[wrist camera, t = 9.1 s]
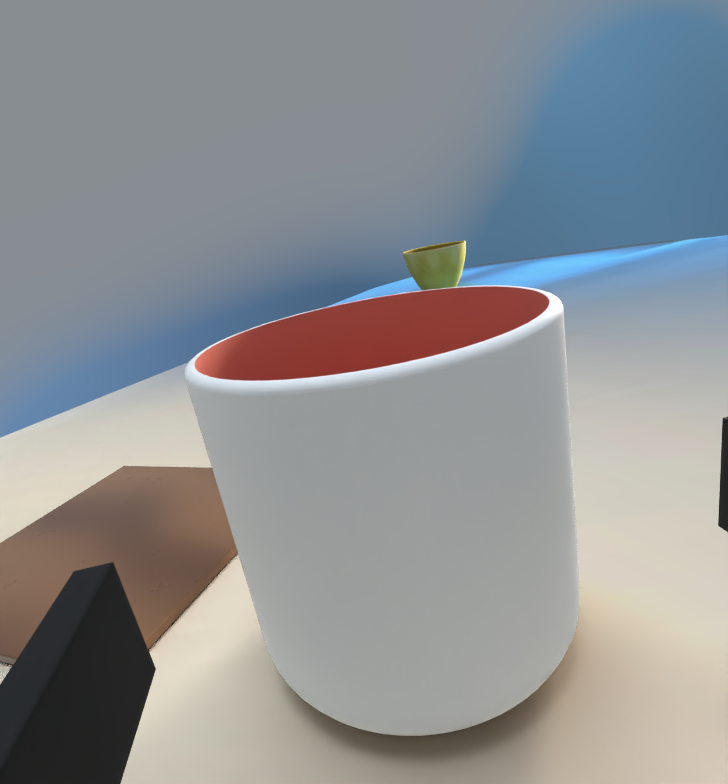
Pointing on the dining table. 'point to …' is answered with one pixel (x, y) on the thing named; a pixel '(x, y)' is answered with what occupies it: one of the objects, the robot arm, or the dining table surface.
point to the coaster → (119, 549)
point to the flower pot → (436, 264)
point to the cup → (402, 499)
